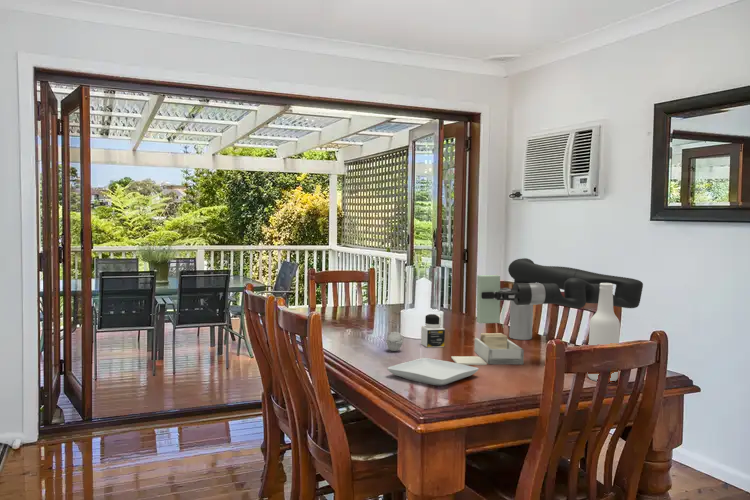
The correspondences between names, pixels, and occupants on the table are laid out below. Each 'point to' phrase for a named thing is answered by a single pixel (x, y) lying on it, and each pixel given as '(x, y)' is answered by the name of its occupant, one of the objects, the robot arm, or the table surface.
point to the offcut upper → (493, 338)
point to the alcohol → (604, 323)
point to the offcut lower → (496, 345)
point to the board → (488, 307)
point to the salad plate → (432, 371)
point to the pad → (469, 360)
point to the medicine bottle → (432, 332)
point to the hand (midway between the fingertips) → (480, 294)
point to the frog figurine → (394, 341)
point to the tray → (500, 353)
